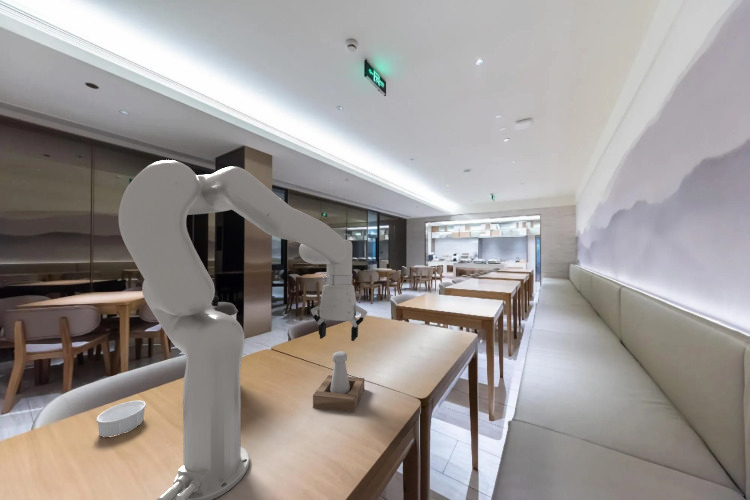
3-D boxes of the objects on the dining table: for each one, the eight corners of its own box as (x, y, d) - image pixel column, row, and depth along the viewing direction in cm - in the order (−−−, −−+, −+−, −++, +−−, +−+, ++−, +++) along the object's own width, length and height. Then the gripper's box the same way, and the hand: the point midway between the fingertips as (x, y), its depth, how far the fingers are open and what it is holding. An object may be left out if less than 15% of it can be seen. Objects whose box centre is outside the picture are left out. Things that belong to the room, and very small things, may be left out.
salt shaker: (351, 391, 80) (351, 349, 80) (347, 402, 74) (347, 357, 74) (333, 390, 80) (333, 348, 80) (327, 401, 75) (327, 356, 75)
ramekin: (151, 423, 67) (151, 406, 67) (102, 445, 59) (102, 426, 59) (138, 412, 71) (138, 396, 71) (91, 431, 64) (91, 414, 64)
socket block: (354, 412, 70) (354, 399, 70) (313, 407, 72) (312, 395, 73) (364, 389, 82) (364, 378, 82) (328, 385, 84) (328, 375, 84)
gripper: (306, 280, 75) (305, 340, 75) (364, 282, 72) (363, 344, 72) (317, 279, 83) (316, 333, 82) (370, 280, 79) (369, 336, 79)
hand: (338, 338), depth 77 cm, fingers open, 9 cm apart
